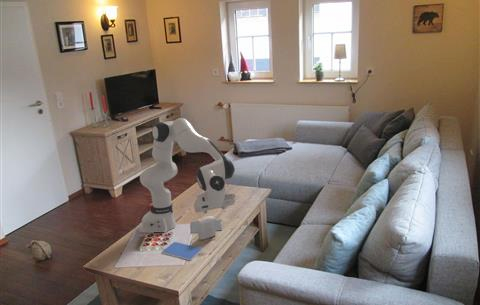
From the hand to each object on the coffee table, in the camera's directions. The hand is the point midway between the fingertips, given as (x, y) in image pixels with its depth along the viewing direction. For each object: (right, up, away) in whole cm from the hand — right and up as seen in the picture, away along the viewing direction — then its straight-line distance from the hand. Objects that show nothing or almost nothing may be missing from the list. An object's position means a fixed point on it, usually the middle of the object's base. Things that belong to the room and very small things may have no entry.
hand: (213, 209), depth 203 cm
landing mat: (-7, -15, +36) cm, 40 cm away
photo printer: (-6, -19, +24) cm, 31 cm away
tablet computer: (-18, -24, +10) cm, 32 cm away
